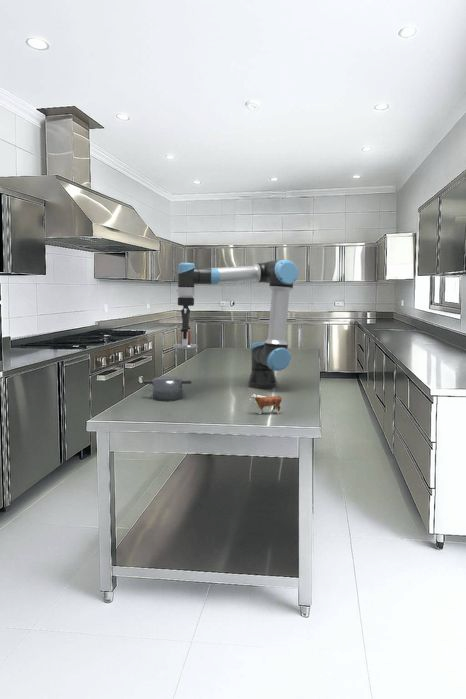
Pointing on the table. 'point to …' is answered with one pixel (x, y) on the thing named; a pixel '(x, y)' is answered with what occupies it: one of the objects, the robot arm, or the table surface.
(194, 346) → the lid
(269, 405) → the bull figurine
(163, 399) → the pot
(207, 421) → the table surface
